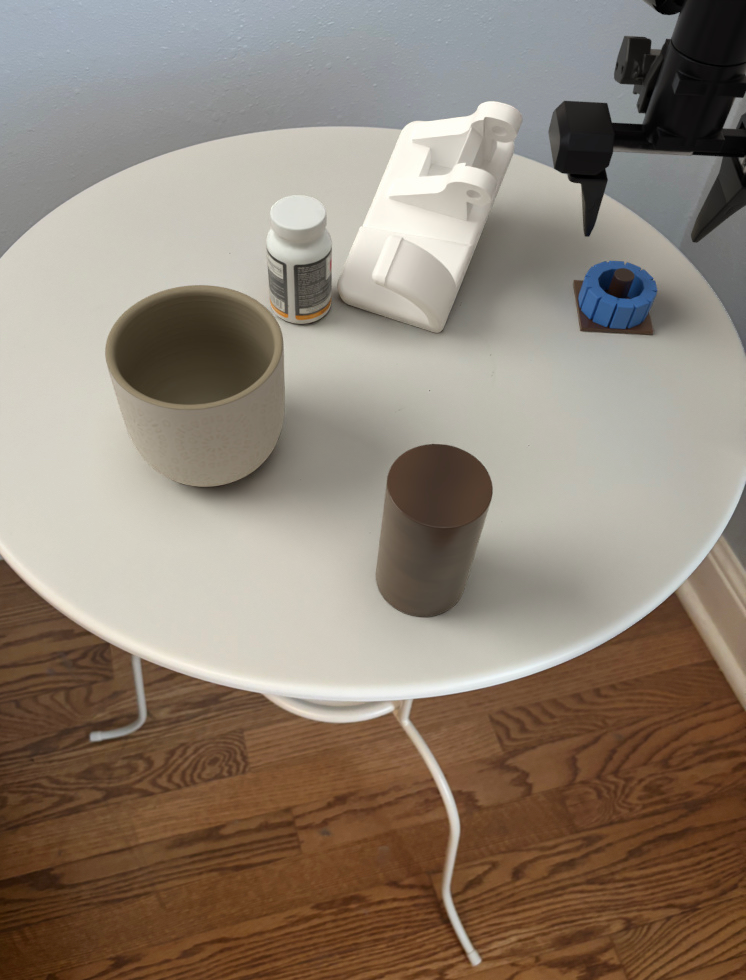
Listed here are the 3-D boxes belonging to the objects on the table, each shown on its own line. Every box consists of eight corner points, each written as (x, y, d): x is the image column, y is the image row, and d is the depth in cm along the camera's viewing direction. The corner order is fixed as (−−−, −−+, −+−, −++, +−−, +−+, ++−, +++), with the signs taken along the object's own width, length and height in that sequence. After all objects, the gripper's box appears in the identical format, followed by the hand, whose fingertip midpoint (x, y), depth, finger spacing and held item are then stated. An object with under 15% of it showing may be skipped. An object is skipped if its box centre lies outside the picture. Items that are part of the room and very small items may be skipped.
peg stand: (641, 286, 80) (655, 252, 77) (652, 335, 76) (667, 301, 73) (572, 283, 80) (583, 248, 77) (580, 330, 76) (592, 297, 73)
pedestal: (463, 542, 63) (490, 446, 54) (466, 619, 60) (495, 531, 50) (376, 537, 63) (387, 440, 54) (374, 614, 60) (385, 525, 50)
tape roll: (642, 284, 79) (651, 262, 77) (652, 330, 76) (662, 309, 74) (574, 280, 80) (582, 258, 77) (582, 326, 76) (590, 305, 74)
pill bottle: (334, 287, 79) (336, 193, 70) (327, 329, 75) (329, 235, 67) (274, 282, 79) (269, 187, 70) (265, 324, 76) (259, 229, 67)
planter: (311, 413, 70) (311, 312, 61) (246, 526, 63) (235, 432, 54) (178, 370, 72) (159, 266, 63) (103, 475, 66) (69, 376, 57)
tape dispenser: (450, 358, 81) (445, 301, 68) (342, 323, 83) (318, 261, 70) (524, 173, 82) (532, 84, 69) (416, 144, 84) (405, 51, 72)
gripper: (815, -2, 63) (729, 186, 76) (567, -15, 63) (523, 175, 76) (858, 75, 57) (757, 265, 70) (583, 61, 57) (533, 254, 70)
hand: (639, 236), depth 71 cm, fingers open, 9 cm apart
